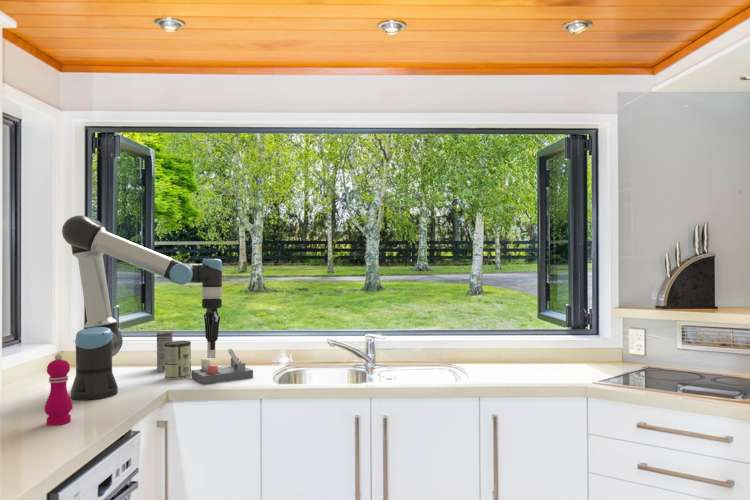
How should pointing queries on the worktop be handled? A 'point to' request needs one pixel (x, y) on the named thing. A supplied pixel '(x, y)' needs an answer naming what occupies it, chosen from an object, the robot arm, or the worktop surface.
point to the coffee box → (162, 348)
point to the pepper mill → (58, 393)
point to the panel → (223, 374)
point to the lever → (233, 356)
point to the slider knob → (233, 361)
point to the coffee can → (177, 360)
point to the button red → (212, 369)
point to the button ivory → (205, 364)
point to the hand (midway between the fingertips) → (211, 357)
